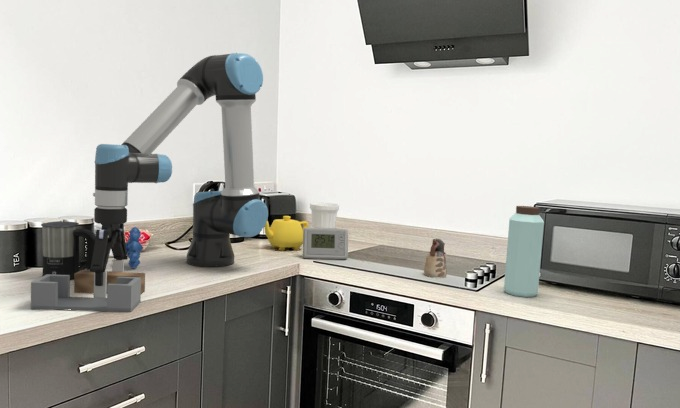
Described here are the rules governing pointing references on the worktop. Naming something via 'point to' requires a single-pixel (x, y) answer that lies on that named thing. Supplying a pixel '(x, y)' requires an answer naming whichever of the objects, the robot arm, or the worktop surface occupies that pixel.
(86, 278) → the slat
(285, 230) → the teapot
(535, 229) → the water bottle
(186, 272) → the worktop surface
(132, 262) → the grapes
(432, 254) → the figurine
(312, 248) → the digital clock
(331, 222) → the cup
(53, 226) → the milk frother
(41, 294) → the rail
